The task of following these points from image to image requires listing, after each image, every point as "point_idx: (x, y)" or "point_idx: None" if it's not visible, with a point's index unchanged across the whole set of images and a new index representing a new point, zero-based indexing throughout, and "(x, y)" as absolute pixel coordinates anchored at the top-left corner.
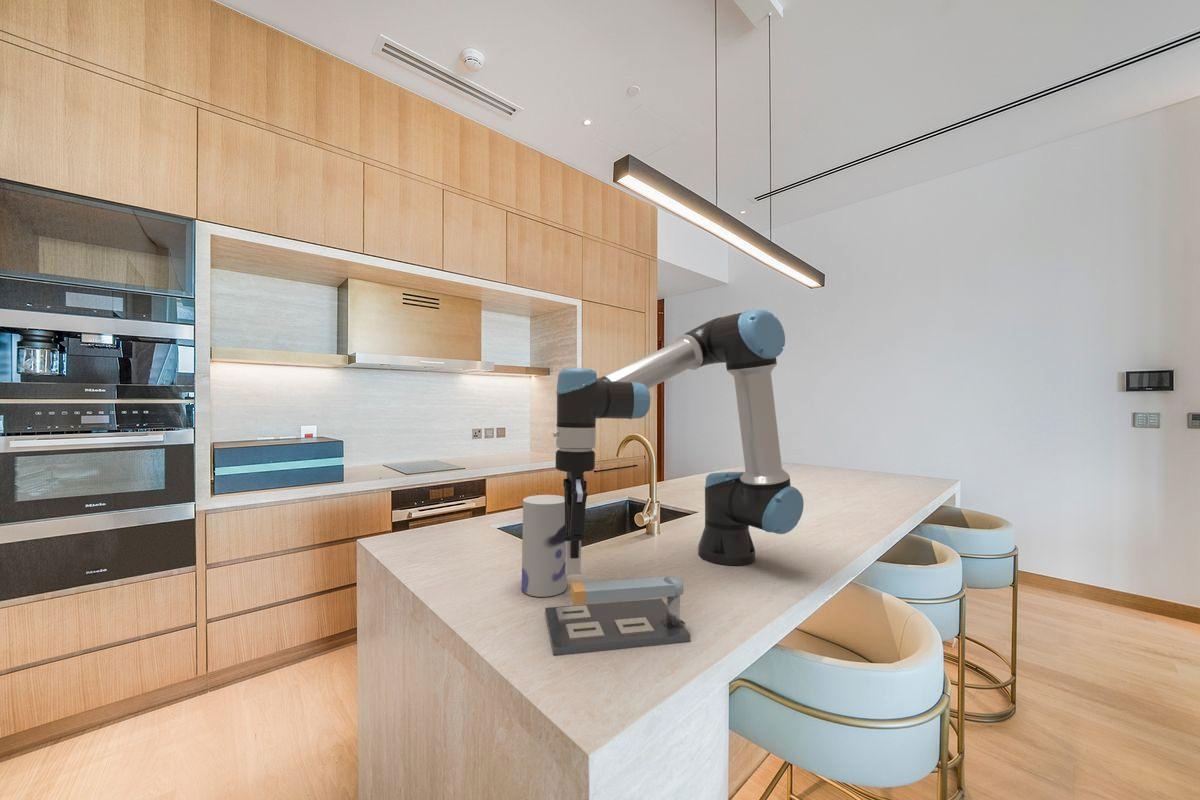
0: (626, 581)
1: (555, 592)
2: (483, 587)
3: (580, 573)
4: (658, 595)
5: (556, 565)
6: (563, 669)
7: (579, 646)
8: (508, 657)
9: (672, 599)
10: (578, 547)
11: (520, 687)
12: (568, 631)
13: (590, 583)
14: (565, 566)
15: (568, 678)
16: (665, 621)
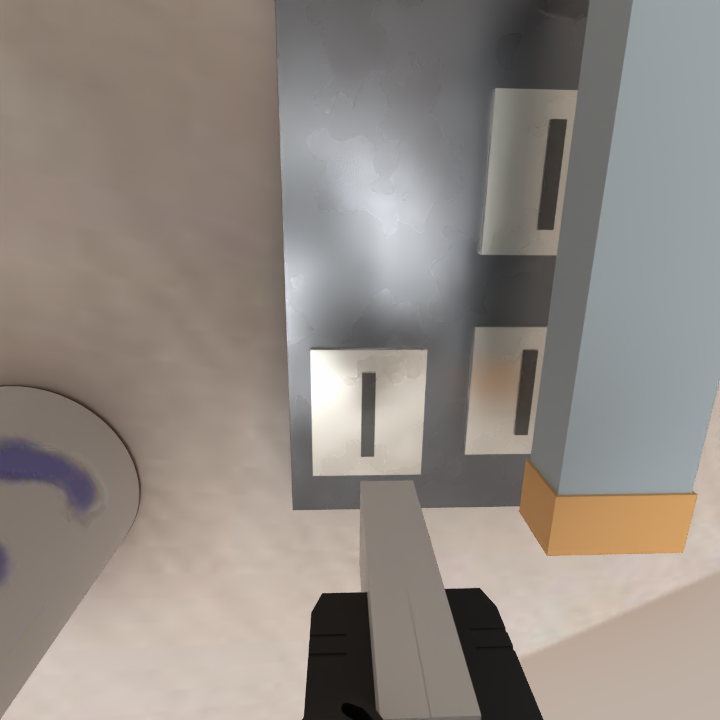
0: (639, 196)
1: (118, 451)
2: (27, 690)
3: (413, 483)
4: None
5: (39, 528)
6: None
7: None
8: (552, 603)
9: None
10: (525, 680)
11: (700, 576)
12: (522, 452)
13: (589, 448)
14: (361, 589)
15: (715, 462)
16: None
